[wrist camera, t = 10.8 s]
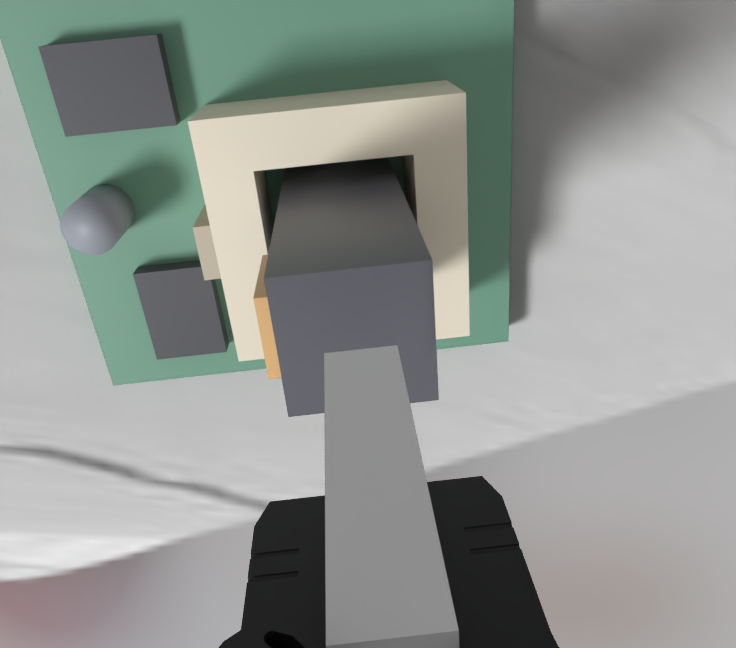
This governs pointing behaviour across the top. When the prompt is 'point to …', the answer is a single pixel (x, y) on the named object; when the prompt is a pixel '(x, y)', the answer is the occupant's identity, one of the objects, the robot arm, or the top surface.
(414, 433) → the robot arm
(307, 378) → the plug
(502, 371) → the top surface
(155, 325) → the board
